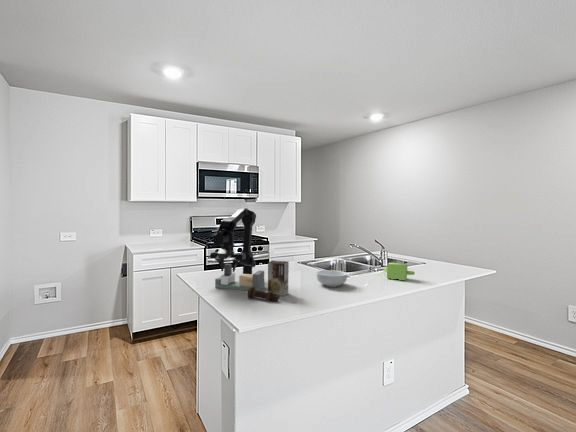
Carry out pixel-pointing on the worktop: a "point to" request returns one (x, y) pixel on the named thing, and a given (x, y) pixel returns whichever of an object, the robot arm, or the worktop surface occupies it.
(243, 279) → the block
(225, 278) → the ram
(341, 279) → the cereal bowl
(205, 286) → the worktop surface
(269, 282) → the coffee box
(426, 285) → the worktop surface
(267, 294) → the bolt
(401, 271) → the gearbox
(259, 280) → the press frame
